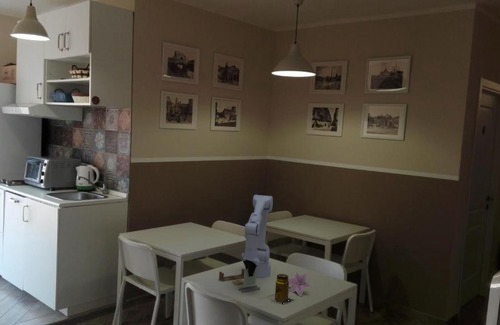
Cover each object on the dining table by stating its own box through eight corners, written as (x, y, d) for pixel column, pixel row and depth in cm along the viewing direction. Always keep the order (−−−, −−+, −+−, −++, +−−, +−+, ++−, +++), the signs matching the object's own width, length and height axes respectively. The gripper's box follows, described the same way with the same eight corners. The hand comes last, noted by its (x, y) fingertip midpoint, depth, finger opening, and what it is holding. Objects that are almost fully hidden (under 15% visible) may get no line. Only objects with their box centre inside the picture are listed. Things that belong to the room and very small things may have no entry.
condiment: (271, 300, 209) (272, 275, 208) (281, 295, 216) (283, 271, 215) (283, 305, 205) (285, 279, 204) (294, 300, 211) (295, 275, 210)
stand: (255, 288, 224) (255, 283, 224) (264, 293, 217) (264, 288, 217) (234, 291, 218) (234, 286, 217) (242, 297, 211) (242, 292, 211)
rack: (241, 277, 238) (241, 267, 238) (254, 286, 226) (255, 275, 226) (217, 281, 231) (217, 270, 231) (229, 290, 219) (230, 279, 219)
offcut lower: (242, 282, 230) (242, 280, 230) (247, 285, 225) (247, 283, 225) (230, 284, 226) (230, 282, 226) (235, 287, 222) (235, 285, 222)
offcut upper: (241, 280, 229) (241, 278, 229) (246, 283, 226) (246, 281, 226) (231, 282, 226) (231, 280, 226) (237, 285, 222) (237, 283, 222)
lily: (283, 290, 226) (281, 276, 221) (302, 279, 230) (300, 265, 225) (297, 305, 217) (295, 291, 212) (317, 293, 221) (315, 279, 216)
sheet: (254, 283, 219) (255, 267, 218) (255, 284, 218) (256, 268, 217) (243, 285, 216) (244, 268, 215) (244, 286, 215) (245, 269, 214)
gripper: (236, 244, 220) (235, 272, 221) (251, 252, 207) (250, 281, 208) (249, 243, 223) (247, 270, 224) (264, 251, 211) (263, 279, 212)
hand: (249, 275), depth 217 cm, fingers closed on sheet, 1 cm apart
